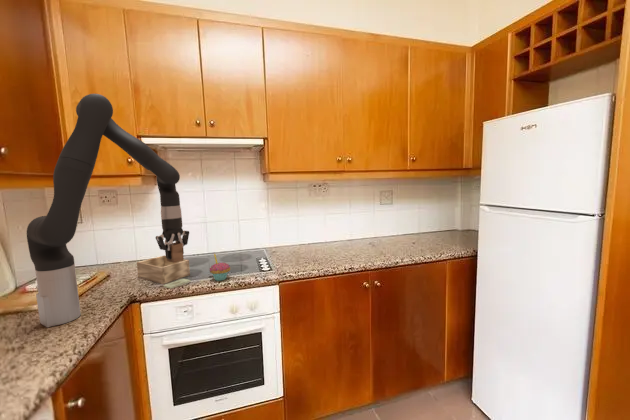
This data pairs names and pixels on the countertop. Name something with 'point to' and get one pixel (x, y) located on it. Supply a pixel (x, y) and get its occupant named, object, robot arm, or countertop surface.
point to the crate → (162, 270)
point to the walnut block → (176, 252)
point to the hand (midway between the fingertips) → (175, 257)
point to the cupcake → (219, 270)
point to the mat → (176, 283)
